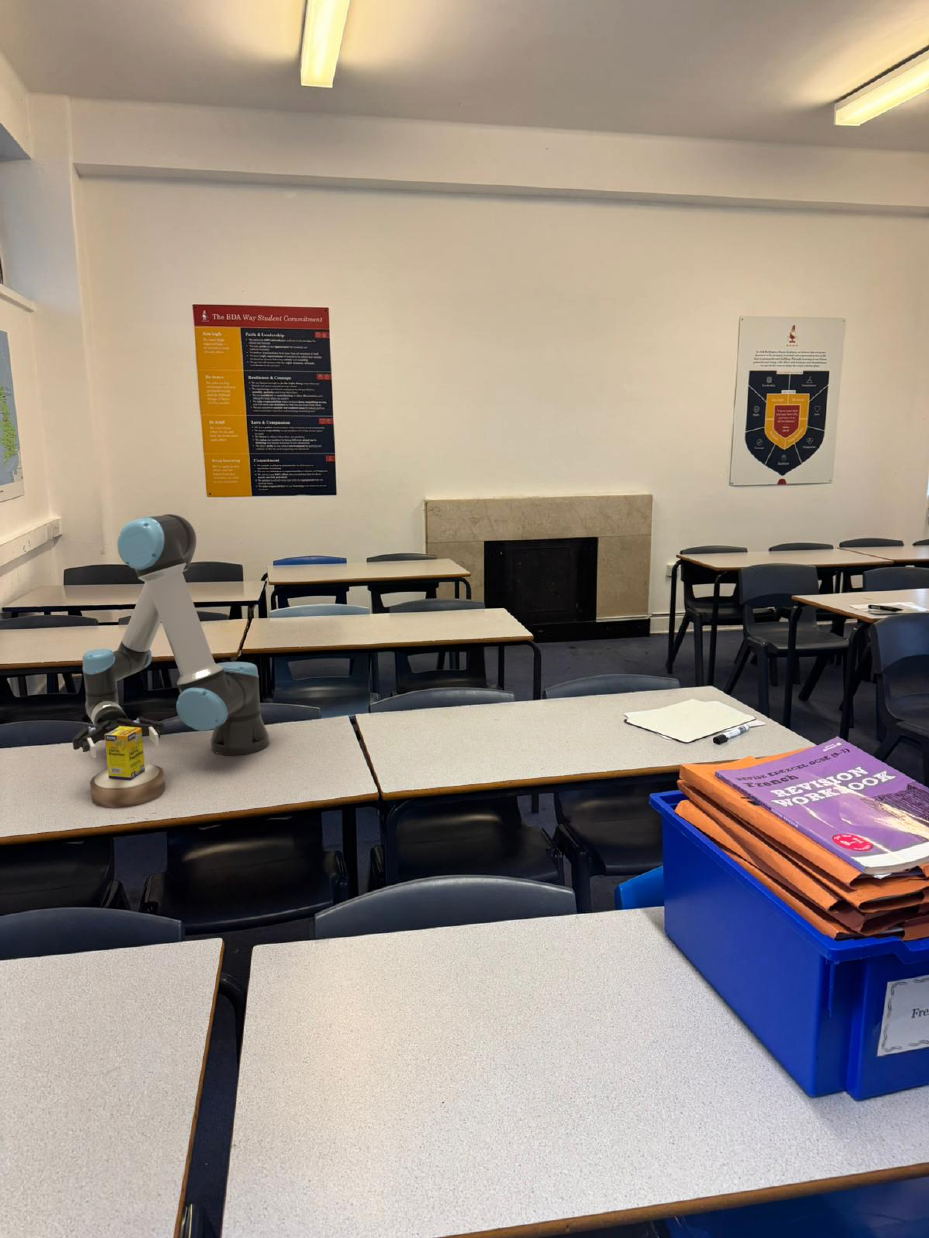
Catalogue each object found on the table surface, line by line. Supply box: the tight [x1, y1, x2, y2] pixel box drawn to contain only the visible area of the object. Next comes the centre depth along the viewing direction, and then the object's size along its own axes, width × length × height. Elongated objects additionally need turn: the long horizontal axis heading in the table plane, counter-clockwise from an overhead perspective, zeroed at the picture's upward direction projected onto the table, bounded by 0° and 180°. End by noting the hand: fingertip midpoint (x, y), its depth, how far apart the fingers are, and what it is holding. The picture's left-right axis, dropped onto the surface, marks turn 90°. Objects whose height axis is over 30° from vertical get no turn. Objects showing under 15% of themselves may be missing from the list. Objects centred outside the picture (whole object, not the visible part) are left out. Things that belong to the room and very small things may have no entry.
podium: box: [89, 763, 166, 809], centre depth 190 cm, size 16×16×4 cm
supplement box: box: [104, 726, 146, 780], centre depth 189 cm, size 6×6×11 cm
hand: (126, 746), depth 186 cm, fingers open, 13 cm apart
